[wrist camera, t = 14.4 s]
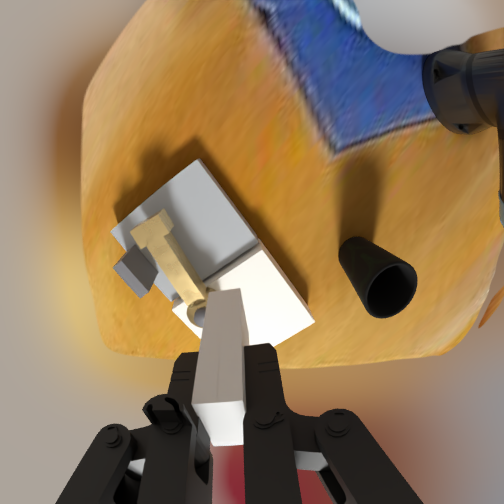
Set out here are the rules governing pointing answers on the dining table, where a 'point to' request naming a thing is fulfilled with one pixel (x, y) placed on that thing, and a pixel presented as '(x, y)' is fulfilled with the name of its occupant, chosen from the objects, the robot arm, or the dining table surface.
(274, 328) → the doorframe
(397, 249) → the dining table surface
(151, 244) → the bar
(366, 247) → the cup
